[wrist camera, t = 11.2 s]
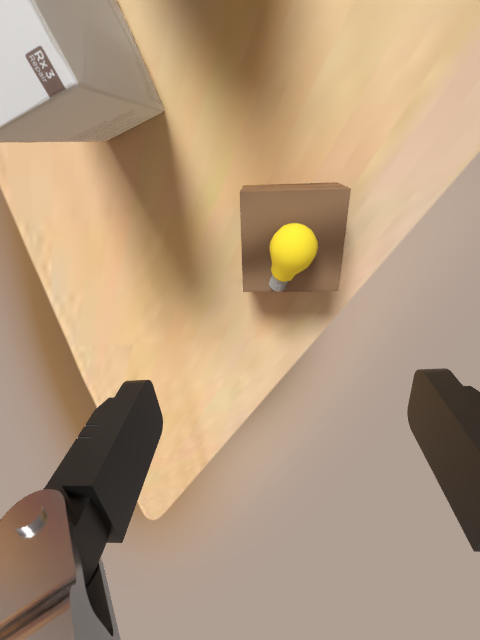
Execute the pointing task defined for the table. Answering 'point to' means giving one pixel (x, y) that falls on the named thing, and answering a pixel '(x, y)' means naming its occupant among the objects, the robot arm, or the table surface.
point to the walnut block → (284, 208)
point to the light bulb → (291, 253)
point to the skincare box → (70, 72)
